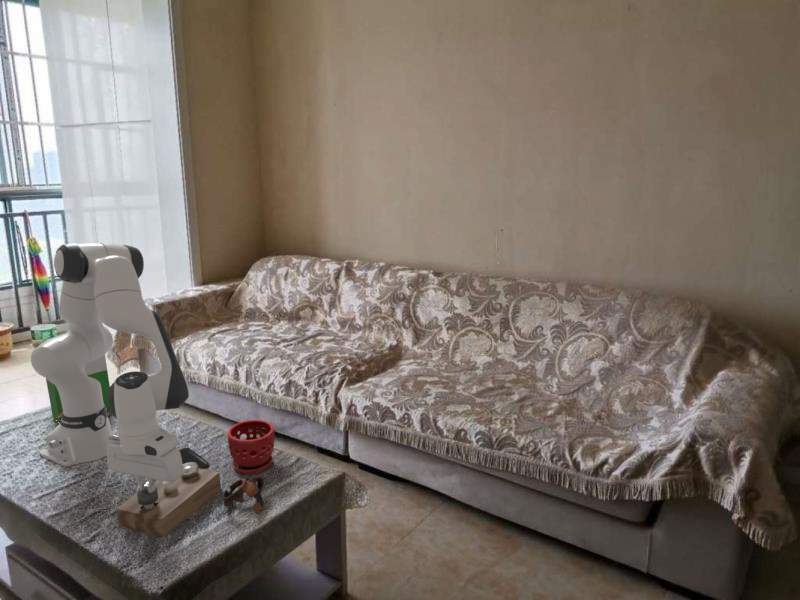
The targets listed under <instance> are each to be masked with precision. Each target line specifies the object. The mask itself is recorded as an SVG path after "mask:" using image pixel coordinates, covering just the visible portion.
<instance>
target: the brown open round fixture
mask: <svg viewBox="0 0 800 600" xmlns="http://www.w3.org/2000/svg"><path fill="white" fill-rule="evenodd" d="M264 485H265V481H264V479H263V477H262V476H261V475H254V476H253V477H251V478H250V479H249V480H246V479H245V478H240V479H238V480H236V481H234V482H233V483H231V484H230V485H229V487H228V488H229V489H230V490H229V491H228V489H225V490H224V492H223V493H222V495H221V499H222V500H223V506H224V508H230V509H232V510H233V509H234V502H236V503H240V504H241V503H244V502H245V499H244V493H245V494H246V495H247V497H250V498H254V499H255V500H256V502H255V504H254V505H253V506H252V509H253V510H254V513H256V514H258V513H259V512H261V510H262V509H263V507H264V505H265V501H264V499H263V497H262V496H263V495H262V491H263V489H264Z"/></svg>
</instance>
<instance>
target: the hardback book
mask: <svg viewBox="0 0 800 600" xmlns="http://www.w3.org/2000/svg"><path fill="white" fill-rule="evenodd" d="M85 372H86V374H87V376H88V377H92V378H94V379H96V380H98V381H99V382H100V384H101V390H102V396H103V402H104V404H105V406H106V409H107V411H109V410H110V405H109V400H108V397H107V390H108V389H109V387H110V386H111V384H110V380H109V373H108V367H107V358H106V354H105V355H103V356H102V357H101V358H99V359H97V360H95V361H93V362H91V363H89V364H86V365H85ZM45 381H46V387H47V392H48V398H49V403H50V409H51V413H52V414H51V415H52V419H53V418H54V419H55V420H57V421H58V422H59V423H61V417H62V416H61V417H59V418H57V417H58V416H60V415H61V414H60V413H62V412H63V409H62V404H61V399H60V395H59V392H58V389H57V387H56V386H55V384H54V383H53V382H52V381H51V380H50V379H48V378H46V377H45ZM108 409H109V410H108ZM58 414H60V415H58ZM54 419H53V420H54ZM55 420H54V421H55ZM58 422H57V423H58ZM59 423H58V424H59Z"/></svg>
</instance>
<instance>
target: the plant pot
mask: <svg viewBox="0 0 800 600" xmlns="http://www.w3.org/2000/svg"><path fill="white" fill-rule="evenodd" d="M250 429H252V430H251V431H249V430H250ZM257 429H259V430H257ZM263 429H264V430H265V431H266V434H265V433H263ZM243 435H246V438H245V439H241V436H243ZM251 435H252V436H251ZM257 435H259V437H258V436H257ZM227 443H228V449H229V453H230V456H231V458H232V460H231V466H232V468H233V470H235V471H236V472H238V473H241V474H245V475H246V474H247V475H248V474H249V475H252V474H257V473H260V472H263V471H265V470H267V469H268V468H269V467H270V466H271V465H272V464H273V460H274V457H273V451H274V446H275V427H274V425H273V424H272V423H270V422H269V421H267V420H262V419H252V420H251V419H250V420H244V421H241V422H237V423H235V424H234V425H231V427H230V428H229V429H228V431H227Z"/></svg>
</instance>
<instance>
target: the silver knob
mask: <svg viewBox="0 0 800 600" xmlns="http://www.w3.org/2000/svg"><path fill="white" fill-rule="evenodd" d="M198 473H199V472H198V464H197V463H195V462H189V463H185V464H183V474H182V476H181V478H182V479H191V478H194V477H196V476H197V475H198Z"/></svg>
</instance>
